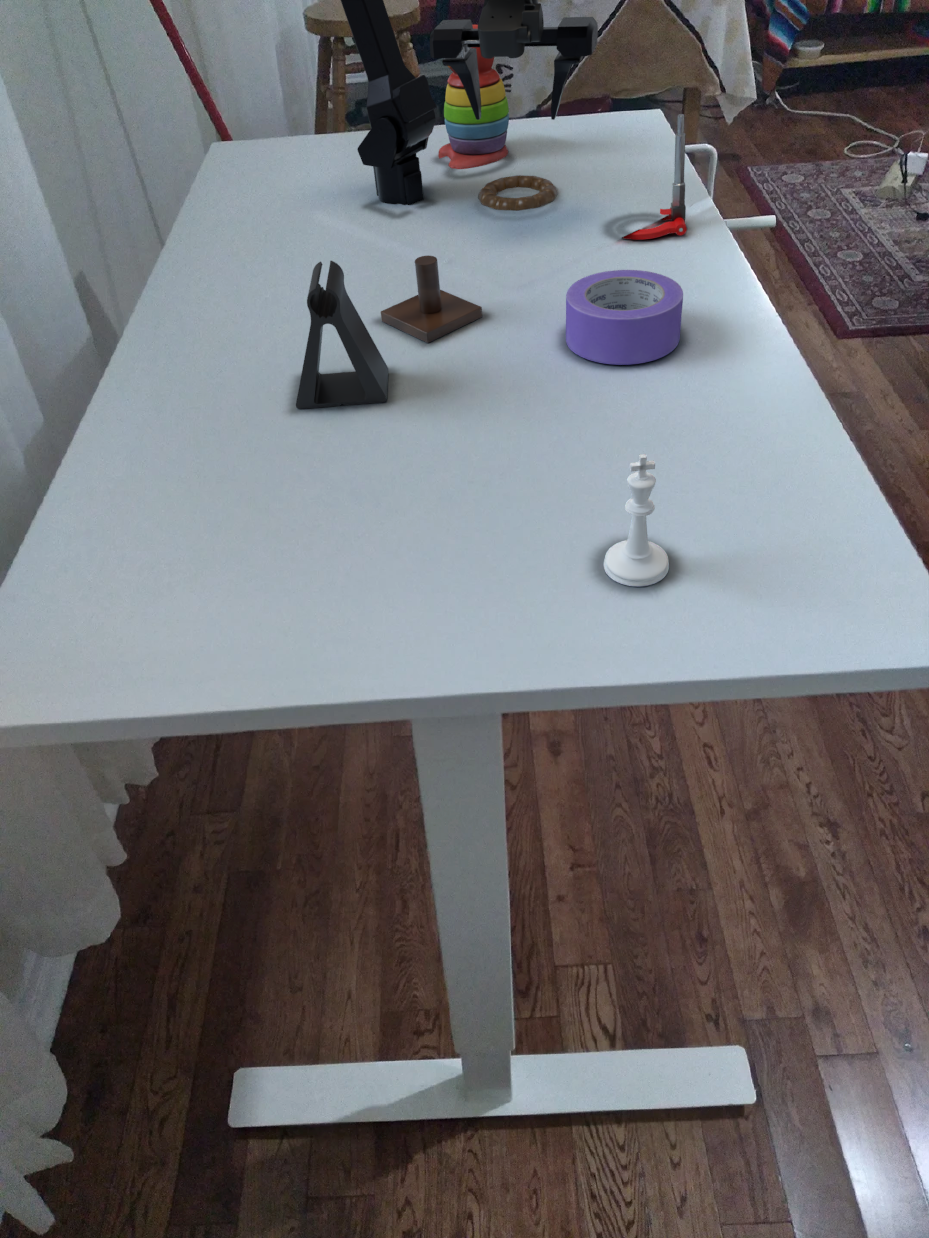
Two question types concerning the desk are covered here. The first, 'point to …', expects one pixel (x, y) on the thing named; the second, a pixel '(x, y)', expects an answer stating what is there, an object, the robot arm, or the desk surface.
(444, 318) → the post
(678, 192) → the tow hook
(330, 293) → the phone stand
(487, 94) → the stacking bear
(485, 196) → the ring
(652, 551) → the chess piece
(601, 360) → the tape roll
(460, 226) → the desk surface
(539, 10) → the robot arm
